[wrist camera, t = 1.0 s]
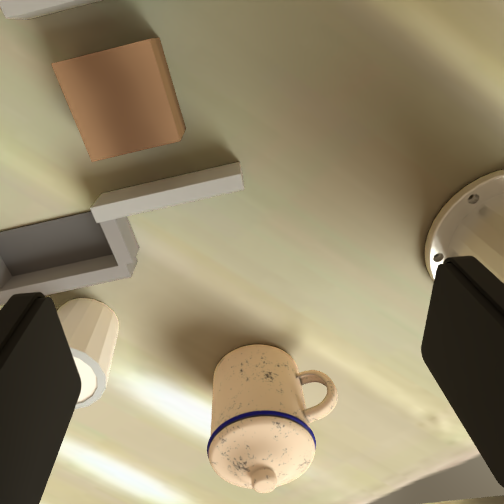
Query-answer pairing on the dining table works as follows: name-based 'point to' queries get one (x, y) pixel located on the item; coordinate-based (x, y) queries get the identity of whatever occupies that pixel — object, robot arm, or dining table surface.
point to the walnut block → (122, 99)
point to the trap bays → (65, 255)
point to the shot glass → (90, 343)
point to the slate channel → (148, 194)
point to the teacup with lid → (263, 418)
